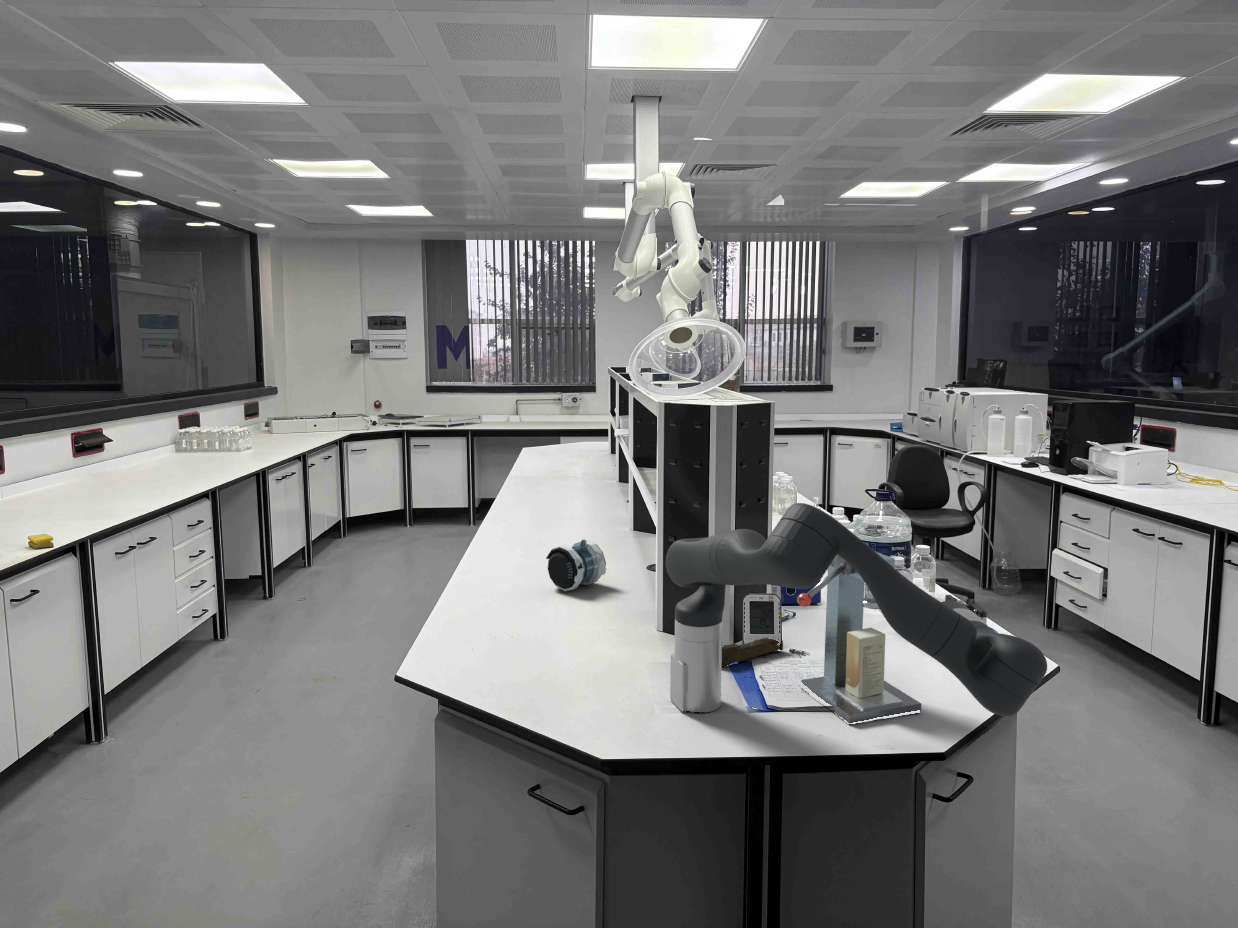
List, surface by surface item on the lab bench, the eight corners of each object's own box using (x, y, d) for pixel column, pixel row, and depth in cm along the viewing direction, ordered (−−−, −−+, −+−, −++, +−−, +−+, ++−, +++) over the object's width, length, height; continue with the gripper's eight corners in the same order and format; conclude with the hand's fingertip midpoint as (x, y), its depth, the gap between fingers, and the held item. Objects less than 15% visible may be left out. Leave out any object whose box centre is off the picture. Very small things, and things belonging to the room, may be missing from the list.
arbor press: (821, 729, 147) (827, 571, 142) (775, 692, 162) (779, 549, 158) (920, 713, 153) (929, 561, 149) (867, 679, 169) (873, 540, 165)
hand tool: (771, 648, 188) (772, 629, 187) (783, 653, 184) (784, 634, 184) (708, 665, 178) (708, 645, 177) (720, 671, 174) (720, 650, 174)
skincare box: (869, 685, 160) (872, 626, 159) (884, 693, 156) (887, 633, 155) (843, 690, 158) (845, 630, 156) (857, 698, 154) (860, 638, 152)
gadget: (560, 601, 229) (585, 567, 222) (536, 567, 235) (559, 533, 227) (594, 590, 240) (618, 557, 232) (570, 559, 245) (593, 525, 238)
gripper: (911, 655, 124) (880, 620, 140) (1004, 656, 123) (962, 621, 139) (913, 608, 123) (882, 578, 139) (1007, 609, 122) (965, 579, 138)
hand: (922, 599), depth 139 cm, fingers open, 8 cm apart
